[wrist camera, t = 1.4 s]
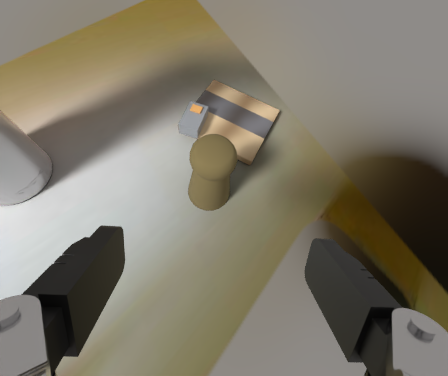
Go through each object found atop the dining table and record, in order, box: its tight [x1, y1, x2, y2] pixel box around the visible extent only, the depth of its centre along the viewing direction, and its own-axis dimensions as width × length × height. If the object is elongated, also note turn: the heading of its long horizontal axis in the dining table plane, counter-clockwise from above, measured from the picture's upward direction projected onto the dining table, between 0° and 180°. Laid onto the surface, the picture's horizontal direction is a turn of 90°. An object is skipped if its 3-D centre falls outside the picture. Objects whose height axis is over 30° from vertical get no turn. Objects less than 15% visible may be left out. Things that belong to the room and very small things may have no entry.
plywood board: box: [178, 80, 280, 165], centre depth 39 cm, size 13×12×1 cm
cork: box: [188, 134, 237, 210], centre depth 28 cm, size 6×6×11 cm
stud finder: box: [178, 101, 208, 139], centre depth 36 cm, size 3×5×2 cm, turn 163°
